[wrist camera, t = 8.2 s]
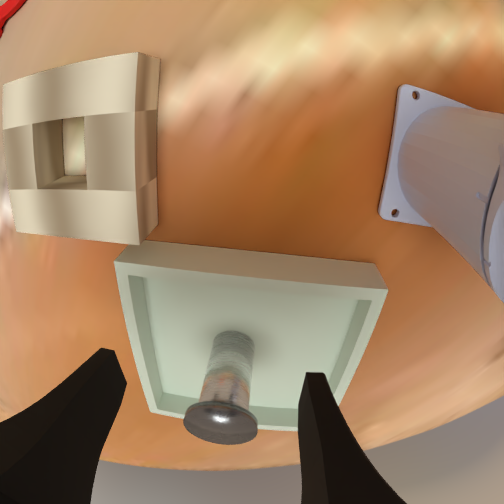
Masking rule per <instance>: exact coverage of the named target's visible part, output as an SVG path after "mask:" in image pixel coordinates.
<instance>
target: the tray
mask: <svg viewBox="0 0 504 504" xmlns="http://www.w3.org/2000/svg"><path fill="white" fill-rule="evenodd" d="M114 264H115V271H116V277H117V282H118V288H119V293H120V298H121V303H122V308H123V313H124V318H125V322H126V327H127V331H128V335H129V339H130V343H131V347H132V351H133V355H134V359H135V363H136V366H137V370H138V374H139V377H140V380H141V384H142V387H143V390H144V394H145V397H146V400H147V403H148V406H149V409H150V412H153V413H157V414H162V415H167V416H172V417H177V418H182V419H184V416H185V412H186V410H187V408H188V407H189V406H191V405H192V404H195V403H198V402H199V398H200V394H201V390H202V386H203V381H204V377H205V373H206V369H207V365H208V361H209V356H210V352H211V348H212V344H213V340H214V338H215V337H216V336H217V335H218V334H219V333H222V332H225V331H238V332H241V333H244V334H246V335H247V336H249V337H250V338H251V339H252V341H253V342H254V345H255V349H254V360H253V370H252V381H251V391H250V401H249V411H250V412H251V413H252V414H253V415H254V416H255V417H256V418H257V421H258V429H267V430H283V431H298V403H299V399H300V395H301V391H302V387H303V383H304V379H305V374H306V372H323V373H324V374H325V375H326V378H327V381H328V383H329V386H330V389H331V391H332V393H333V396H334V398H335V400H336V403H337V405H338V406H339V404H340V402H341V400H342V398H343V396H344V394H345V392H346V390H347V388H348V386H349V384H350V382H351V380H352V377H353V375H354V373H355V371H356V369H357V367H358V364H359V362H360V360H361V358H362V356H363V353H364V351H365V349H366V346H367V344H368V342H369V339H370V337H371V334H372V332H373V330H374V327H375V325H376V322H377V320H378V317H379V314H380V312H381V309H382V306H383V304H384V301H385V298H386V296H387V293H388V288H387V286H386V284H385V282H384V280H383V278H382V276H381V274H380V272H379V270H378V269H377V267H376V265H375V263H365V262H355V261H346V260H336V259H326V258H317V257H307V256H297V255H287V254H278V253H268V252H258V251H248V250H238V249H229V248H219V247H209V246H199V245H189V244H179V243H169V242H160V241H150V240H144V241H143V242H142V243H141V244H140V245H132V244H129V245H128V246H127V247H126V248H125V249H124V250H123V252H122V253H121V254H120V255H119V256H118V257H117V258H116V259H115V261H114Z"/></svg>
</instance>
